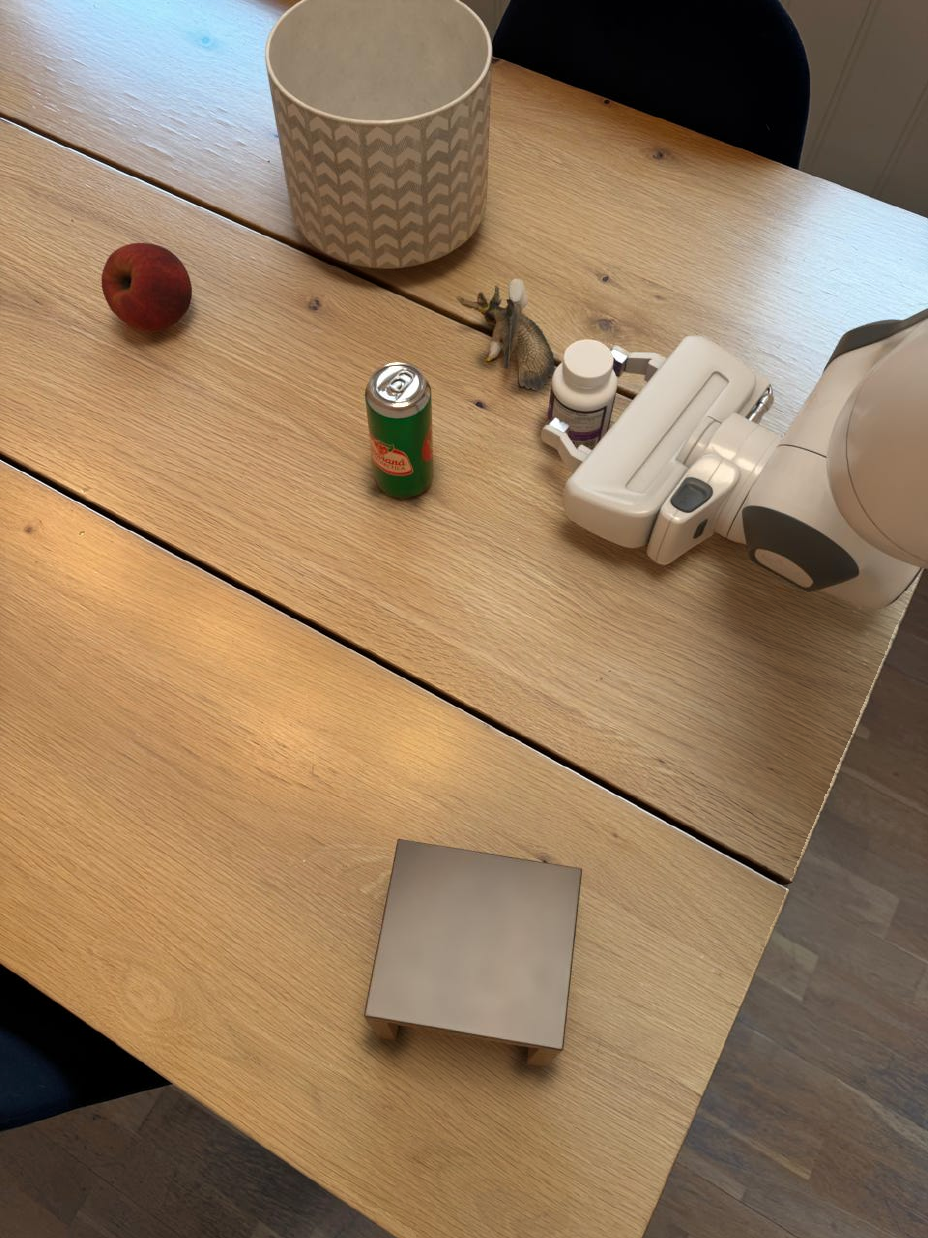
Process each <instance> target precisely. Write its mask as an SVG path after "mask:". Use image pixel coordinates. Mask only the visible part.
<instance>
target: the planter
mask: <svg viewBox="0 0 928 1238" xmlns="http://www.w3.org/2000/svg"><path fill="white" fill-rule="evenodd" d="M264 61H265V69H266V74H267V79H268V84H269V91H270V97H271V102H272V109H273V115H274V120H275V125H276V133H277V137H278V145H279V149H280V155H281V160H282V166H283V170H284V171H283V172H284V178H285V185H286V189H287V195H288V201H289V206H290V207H289V208H290V212H291V215H292V219H293V220H294V223H295V226H296V227H297V229H298V231H300V233H301V234H302V236H303V237H304V238H305V239H306V240H307V241H308V242H309V243H310V244H311V245H312V246H314V247H315V248H316V249H318V250H319V251H321V252H322V253H324V254H326V255H327V256H329V257H331V258H334V259H336V260H338V261H340V262H344V263H347V264H349V265H353V266H358V267H363V268H370V269H382V270H383V269H384V270H385V269H389V270H390V269H403V268H409V267H414V266H419V265H423V264H427V263H430V262H432V261H435V260H438V259H440V258H443V257H444V256H447V255H448V254H450V253H452V252H454V251H455V250H457V249H458V248H460V247H461V246H462V245H463V244H465V243H466V242H467V241H468V240H469V239H470V238H471V237H472V236H473V234H474V233H475V232H476V231H477V229H478V227H479V226H480V224H481V223H482V220H483V219H484V216H485V212H486V209H487V205H488V181H489V180H488V179H489V178H488V177H489V152H490V151H489V150H490V127H491V126H490V125H491V98H492V97H491V95H492V72H493V71H492V70H493V69H492V68H493V45H492V40H491V35H490V32H489V30H488V28H487V27H486V24H485V22H483V20H482V19H481V18H480V16H479V15H478V14H477V13H476V12H475V11H474V10H473V9H472V8H470V7H469V6H468V5H467V4H465V3H464V2H463V1H461V0H300V1H298V2H297V3H295V4H294V5H292V6H291V7H290V8H289V9H287V11H285V12H284V13H283V14H282V15H281V16H280V17H279V18H278V19H277V21H276V22H275V23H274V25H273V26H272V28H271V29H270V32H269V33H268V36H267V39H266V41H265V48H264Z"/></svg>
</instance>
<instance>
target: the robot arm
mask: <svg viewBox="0 0 928 1238" xmlns="http://www.w3.org/2000/svg"><path fill="white" fill-rule="evenodd" d="M609 349H610V351H611V352H612V355H613V371H614V373H615V375H616V378H620V377H621V376H622V375H623V374H624V373H628V374H635V375H642V376H644V378H643V380H644V381H645V382H646V383H645V385H644V386H642V389H641V390H639V392H638V393H637V395H635V397H634V398H633V399H632V400H631V402H630V403H629V404H628V406H627V407H626V408H625V409H624V411H623V412H622V413H621V414H620V415H619V416H618V418H617V419H616V420H615V421H614V423H613V424H612V425H611V426H610V427H609V429H608V431H607V433H606V434H605V435H604V436H603V438H602V439H601V440H600V441H599V442H598V444H597V445H596V446H595V447H594V449H593V450H591V449H589V448H587V447H585V446H583V445H580V446H579V447H578V449H576V447H575V446H574V444H573V443H572V441H571V440H570V438H569V437H568V435H569V434H568V433H569V430H570V425H568V424H566V423H565V422H560V421H559V419H558V418H555V417H553V418H551V419H550V420H549V422H548V423H547V422H546V424H545V425H544V426H543V427H542V429H541V432H540V439H541V441H542V442H543V443H544V444H546V445H548V446H550V447H551V448H553V449H555V450H556V451H557V450H558V451H557V453H558V455H559V457H560V458H561V460H562V462H563V464H564V465H565V468H566V469H567V470H568V472H570V474H572V475H570V477H569V478H568V479H567V480H566V481H565V482H566V483H565V485H564V489H563V493H562V499H561V505H562V509H563V510H564V513H565V515H566V517H567V518H568V519H569V520H570V521H571V522H573V523H575V525H578V526H580V527H581V528H583V529H585V530H587V531H588V532H589V533H592V534H594V535H596V536H598V537H601V538H602V539H604V540H606V541H608V542H611V543H613V544H614V545H616V546H617V545H618V546H620V547H624V548H628V549H637V548H641V547H645V546H646V545H647V548H646V554H647V556H648V557H649V559H651V560H652V561H654V562H655V563H657V564H659V565H663V566H664V565H668V564H671V563H673V562H674V561H676V560H677V559H678V558H679V557H682V555H684V554H685V553H687V552H688V551H690V550H691V549H693V548H694V547H696V546H697V545H699V544H700V543H702V542H704V541H705V540H707V539H709V538H710V537H712V536H713V535H714V534H716V533H717V534H718V535H720V536H721V537H723V538H726V539H727V540H729V541H731V542H734V543H738V544H742V545H745V546H746V549H747V553H748V557H749V559H750V560H751V562H753V563H754V564H756V565H757V566H759V567H761V568H763V569H765V571H766V570H767V571H768V572H770V573H772V574H774V575H775V576H777V577H779V578H780V579H782V580H783V581H786V582H787V583H789V584H791V585H793V586H794V587H796V588H798V589H799V590H801V591H802V592H805V593H813V592H816V591H822V592H825V593H827V594H829V595H832V596H834V597H836V598H839V599H841V600H844V601H846V602H848V603H851V604H853V605H857V606H859V607H862V608H865V609H868V610H872V611H879V610H882V609H884V608H886V607H888V606H890V605H891V604H894V603H895V602H896V601H898V600H899V599H900V597H901V596H902V595H903V594H904V593H905V592H907V591H908V589H909V588H910V587H911V586H912V585H913V583H914V582H915V580H916V579H917V577H918V576H919V575H920V574H921V572H922V570H923V569H926V570H928V307H927V308H925V309H922V310H921V311H919V312H917V313H915V314H913V315H911V316H909V317H906V318H905V319H893V318H891V319H882V320H875V321H873V322H869V323H866V324H863V325H859V326H857V327H855V328H852V329H850V330H848V331H846V332H845V333H844V334H843V335H842V336H841V337H840V339H839V340H838V343H837V344H836V346H835V348H834V349H833V352H832V354H831V355H830V357H829V359H828V360H827V363H826V365H825V367H823V368H824V369H823V371H822V374H821V376H820V377H819V378H818V381H817V382H816V384H815V386H814V387H813V389H812V390H811V392H810V394H809V395H808V397H807V398H806V400H805V401H804V403H803V405H802V406H801V407H800V409H799V411H798V412H797V414H796V416H795V417H794V419H793V420H792V422H791V423H790V425H789V427H788V428H787V430H785V433H784V435H783V436H781V435H779V434H777V433H775V432H773V431H771V430H770V429H768V428H765V427H764V426H762V425H760V422H761V421H762V419H763V417H764V416H765V414H766V413H768V411H770V409H771V408H772V406H773V404H774V402H775V397H774V389H773V386H772V384H771V381H770V380H769V379H768V378H767V377H766V376H765V375H762V374H761V373H759V372H756V371H755V370H753V369H752V368H751V367H750V366H749V365H748V364H746V363H745V362H744V361H742V360H741V359H740V358H738V356H736V355H734V354H733V353H731V352H730V351H728V350H727V349H725V348H724V347H723V346H721V345H719V344H718V343H716V342H714V341H713V340H711V339H709V338H708V337H706V336H704V335H698V334H697V335H696V334H694V335H693V334H691V335H685V336H684V337H683V338H682V339H681V340H680V341H679V343H678V344H677V345H676V347H675V348H674V349H673V350H672V352H671V353H670V354H669V355H668V356H667V357H664V356H663V355H661V354H659V353H657V352H646V351H645V352H642V351H641V352H640V351H632V352H631V351H629V350H626V349H624V348H623V347H620V346H619V345H617V344H614V345H612V347H610V348H609ZM766 392H767V393H766Z"/></svg>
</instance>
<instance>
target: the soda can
mask: <svg viewBox="0 0 928 1238" xmlns="http://www.w3.org/2000/svg"><path fill="white" fill-rule="evenodd" d="M432 397H433V396H432V387H431V385H430V383H429V381H428V380H427V378H426V377H425V374H424V373H423V372H422V371H421V370H420V369H419V368H417V366H415V365H413V364H411V363H407V362H401V361H397V362H396V361H394V362H389V363H386V364H383V365H381V366H379V367H378V368H377V369H376V370H374V371H373V373H372V374H371V375H370V378H369V381H368V383H367V384H366V387H365V391H364V401H365V409H366V418H367V426H368V434H369V436H368V437H369V442H370V452H371V460H372V469H373V477H374V481H375V484H376V485H377V487H378V488H379V489H380V490H381V491H382V492H383V493H385V494H387V495H389V496H390V497H394V498H399V499H403V498H404V499H405V498H412V497H415V496H418V495H420V494H422V493H423V492H425V491H426V490H427V489H428V488H429V486H430V485H431V484H432V482H433V479H434V473H435V471H434V442H433V441H434V437H433V436H434V435H433V401H432V399H433V398H432Z"/></svg>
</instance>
